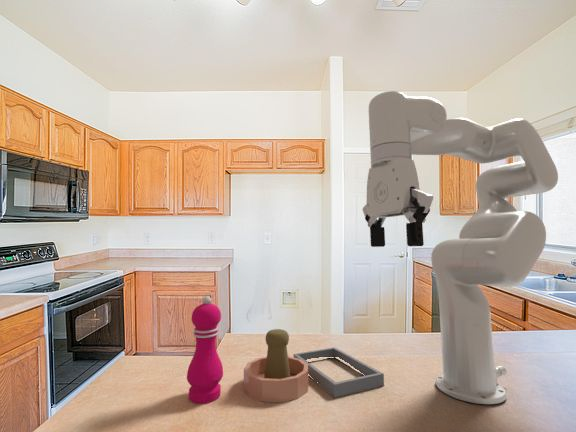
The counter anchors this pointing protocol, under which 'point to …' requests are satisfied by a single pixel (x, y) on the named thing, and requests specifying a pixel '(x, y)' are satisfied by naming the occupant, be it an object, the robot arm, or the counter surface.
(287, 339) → the olive pestle
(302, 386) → the bowl
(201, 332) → the pepper mill
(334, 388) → the grey rectangular frame
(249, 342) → the counter surface
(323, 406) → the counter surface
